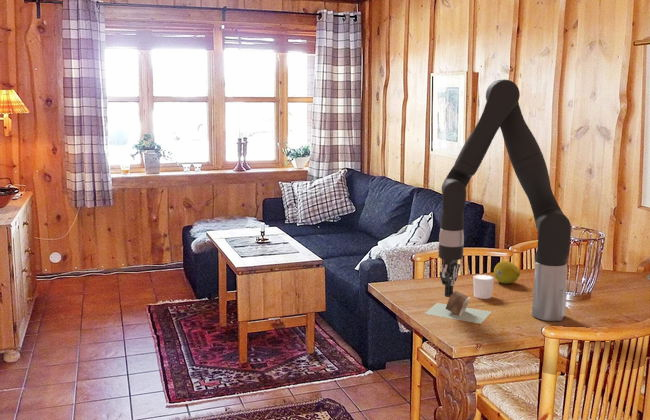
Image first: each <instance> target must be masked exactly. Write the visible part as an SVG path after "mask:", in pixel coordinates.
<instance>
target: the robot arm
mask: <svg viewBox="0 0 650 420" xmlns="http://www.w3.org/2000/svg"><path fill="white" fill-rule="evenodd" d="M520 96H521V93H520V89H519V87H518V85H517V84H516V83H515V82H514V81H512V80H509V79H497V80H494V81H493V82H491V83H490V84H489V85H488V87H487V89H486V92H485V101H486V102H485V105H484V108H483V111H482V113H481V116H480V118H479V119H478V122H477V124H476V125H475V127H474V129H473V130H472V131H471V133H470V134H469V136H468V137H467V139H466V141H465V143H464V145H463V146H462V147H461V150H460V152H459V153H458V155H457V158H456V159H455V162H454V164H453V166H452V168H451V169H450V170H449V172H448V174H447V175H446V177H445V179H444V181H443V183H442V185H441V193H442V211H441V214H440V225H439V226H440V228H439V234H438V235H439V237H438V255H437V256H438V257H439V259H442V260H443V263H442V265H441V271H440V270H439V277H440V280H441V283H442V284H441V285H443V286H444V297H446V298H450V295H451V294H452V293H453V292H454V286H455V283H456V282H457V279H458V275H459V271H460V268H461V264H460V263H458V261H460V260H462V259H463V257H464V245H465V243H464V242H465V233H464V227H465V226H464V223H465V215H464V214H465V213H464V212H465V208H466V200H467V186H468V184H469V183H470V180H471V179H472V177H473V176H474V175H475V174H476V173H477V171H478V170H479V167H480V166H481V164H482V162H483V161H484V158H485V156H486V154H487V152H488V150H489V148H490V147H491V144H492V142H493V139H495V136H496V134H497V132H498V130H499V129H500V131H501V134H502V137H503V141H504V144H505V149H506V152H507V154H508V157H509V160H510V163H511V166H512V168H513V171H514V173H515V176H516V178H517V180H518V183H519V184H520V186H521V188H522V189H523V191H524V193H525V195H526V197H527V199H528V202H529V204H530V208H531V210H532V215H533V219H534V223H535V227H536V230H537V232H538V233H537V234H538V237H537V248H536V252H535V255H534V257H535V258H534V276H533V290H532V291H533V292H532V307H531V316H533V317H534V318H536V319H538V320H541V321H546V322H547V321H549V322H550V321H551V322H554V321H555V322H557V321H558V322H562V321H563V319H564V317H565V316H566V300H567V288H568V287H567V285H566V284H567V283H566V280H567V266H568V264H567V263H568V257H569V255H570V250H571V249H570V247H571V236H572V235H571V234H572V225H571V224H572V223H571V221H570V219H569V217H568V216H566V215H565V213H564V212H563V211H562V209H561V208H560V206H559V203H558V202H557V199H556V197H555V195H554V193H553V189H552V185H551V181H550V175H549V170H548V167H547V163H546V159H545V157H544V155H543V153H542V150H541V148H540V145H539V143H538V141H537V140H536V138H535V135H534V134H533V132H532V131H531V130H530V128H529V126H528V124H527V122H526V121H525V119H524V116H523V114H522V109H521V106H520V103H519V101H520Z"/></svg>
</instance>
